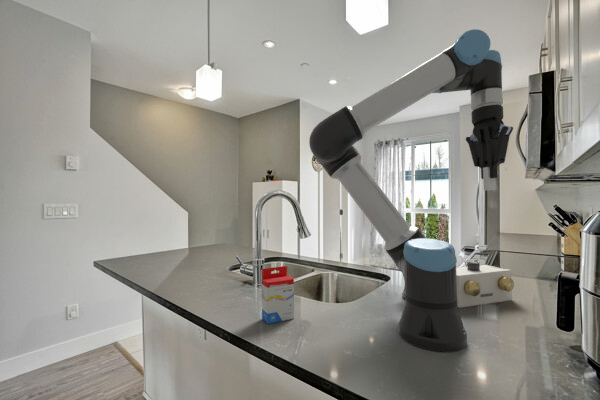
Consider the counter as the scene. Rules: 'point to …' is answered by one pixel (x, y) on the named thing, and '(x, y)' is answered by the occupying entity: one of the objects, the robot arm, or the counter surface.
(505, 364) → the counter surface
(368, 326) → the counter surface
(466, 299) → the console
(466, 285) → the knob left
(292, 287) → the ink box
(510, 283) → the knob right
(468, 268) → the dial
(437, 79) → the robot arm
